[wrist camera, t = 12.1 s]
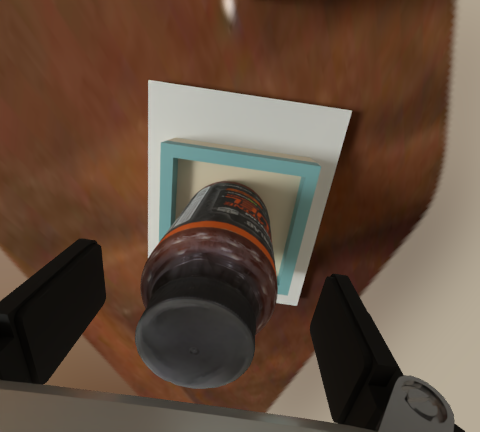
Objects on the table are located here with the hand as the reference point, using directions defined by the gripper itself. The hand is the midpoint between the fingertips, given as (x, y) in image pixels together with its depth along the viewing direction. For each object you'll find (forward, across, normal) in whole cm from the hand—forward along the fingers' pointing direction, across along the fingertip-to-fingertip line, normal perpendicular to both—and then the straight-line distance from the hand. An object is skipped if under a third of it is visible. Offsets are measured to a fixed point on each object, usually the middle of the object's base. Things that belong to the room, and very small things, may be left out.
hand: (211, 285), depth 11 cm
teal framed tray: (+12, 0, +1) cm, 12 cm away
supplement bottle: (+9, 0, +1) cm, 9 cm away
